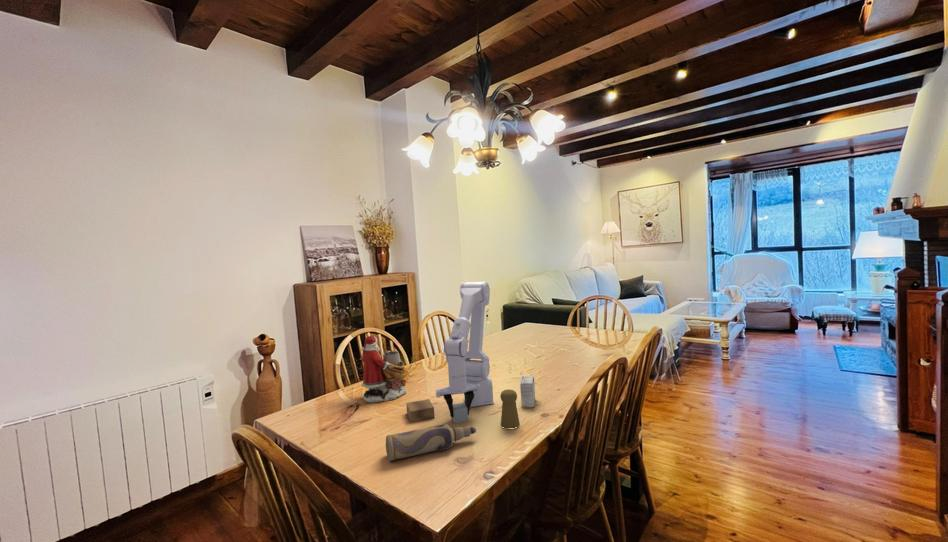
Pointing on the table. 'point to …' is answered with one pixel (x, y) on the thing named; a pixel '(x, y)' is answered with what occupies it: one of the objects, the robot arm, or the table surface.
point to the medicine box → (527, 391)
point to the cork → (509, 409)
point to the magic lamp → (407, 371)
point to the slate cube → (460, 413)
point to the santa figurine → (381, 373)
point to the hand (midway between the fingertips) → (459, 415)
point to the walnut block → (420, 410)
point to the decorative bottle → (424, 440)
